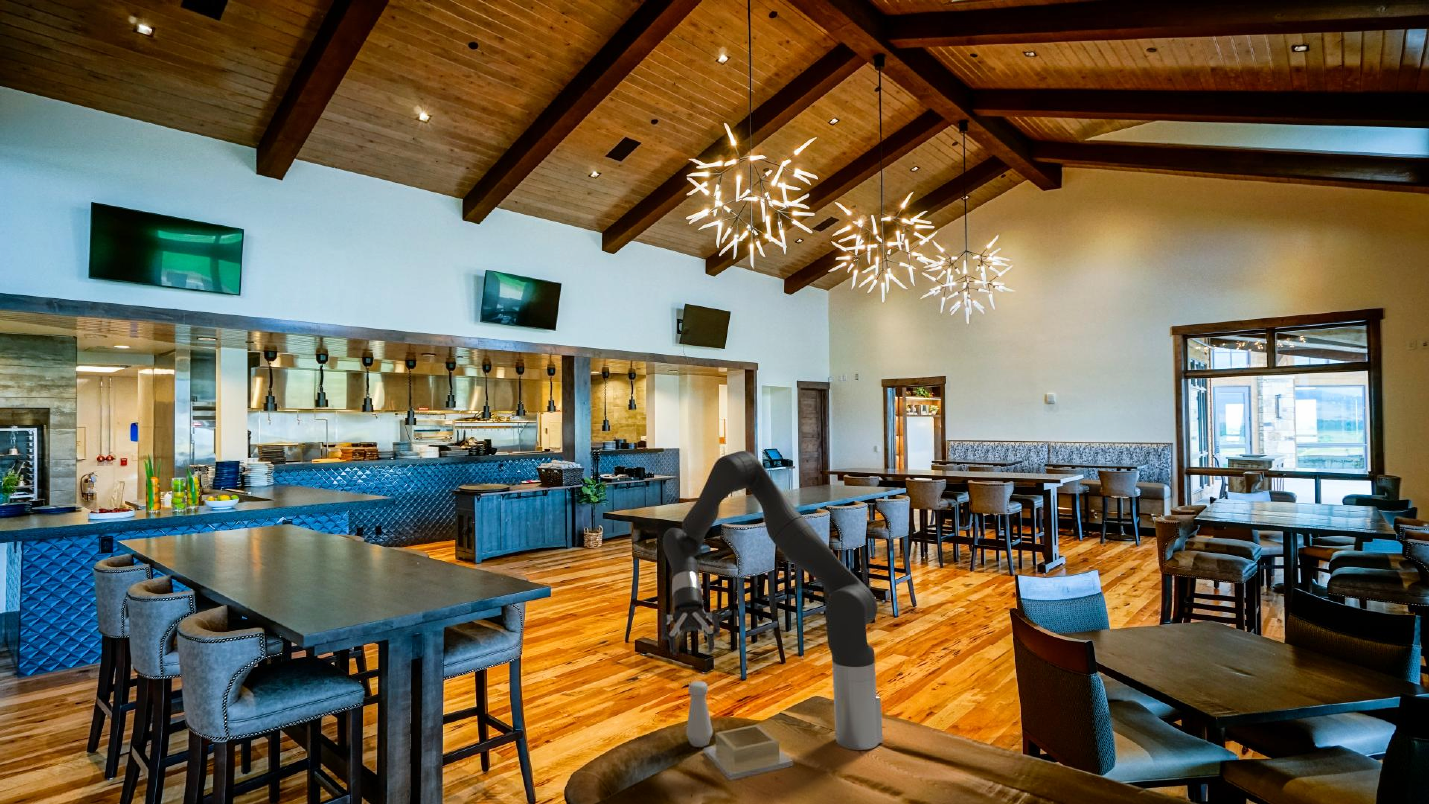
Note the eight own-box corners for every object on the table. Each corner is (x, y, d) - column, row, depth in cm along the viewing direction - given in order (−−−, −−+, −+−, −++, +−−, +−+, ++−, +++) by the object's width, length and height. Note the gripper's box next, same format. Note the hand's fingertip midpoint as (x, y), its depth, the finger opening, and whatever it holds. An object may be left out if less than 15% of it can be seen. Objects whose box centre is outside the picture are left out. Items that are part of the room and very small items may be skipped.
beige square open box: (762, 740, 154) (761, 719, 155) (793, 765, 141) (792, 743, 142) (703, 752, 149) (703, 731, 149) (729, 780, 136) (729, 756, 136)
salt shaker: (709, 749, 150) (707, 687, 151) (684, 748, 152) (682, 686, 153) (715, 738, 156) (713, 679, 157) (690, 737, 157) (688, 678, 158)
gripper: (659, 587, 175) (663, 645, 163) (715, 583, 177) (723, 641, 165) (659, 604, 180) (662, 662, 168) (713, 600, 182) (721, 658, 170)
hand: (692, 652), depth 167 cm, fingers open, 8 cm apart
